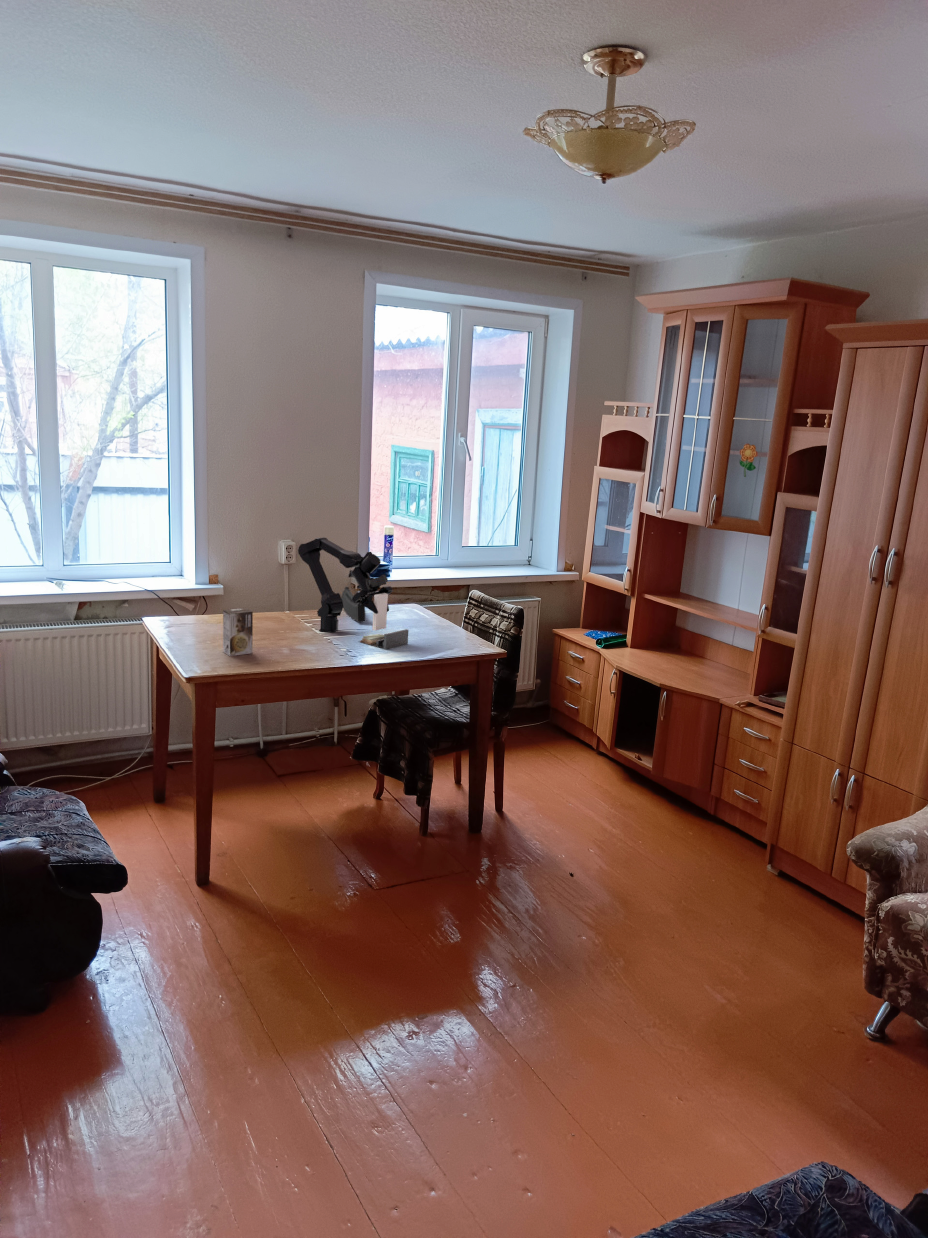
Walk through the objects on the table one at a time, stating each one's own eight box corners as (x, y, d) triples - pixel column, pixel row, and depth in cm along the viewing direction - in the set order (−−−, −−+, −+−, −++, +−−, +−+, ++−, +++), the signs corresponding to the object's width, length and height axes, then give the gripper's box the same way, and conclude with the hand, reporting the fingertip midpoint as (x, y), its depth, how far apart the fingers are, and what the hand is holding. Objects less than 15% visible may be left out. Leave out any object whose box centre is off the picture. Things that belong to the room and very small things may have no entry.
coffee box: (245, 649, 328) (246, 607, 325) (252, 653, 323) (253, 611, 320) (222, 652, 323) (222, 609, 319) (229, 656, 318) (230, 613, 314)
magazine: (367, 605, 376) (351, 573, 400) (360, 605, 375) (344, 573, 399) (362, 639, 384) (346, 605, 408) (355, 639, 383) (339, 605, 407)
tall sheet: (372, 629, 346) (374, 594, 342) (382, 627, 350) (384, 593, 347) (375, 630, 345) (377, 595, 341) (386, 628, 349) (388, 593, 346)
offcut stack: (359, 641, 347) (360, 636, 347) (378, 637, 356) (378, 632, 356) (370, 644, 344) (371, 639, 343) (389, 640, 353) (389, 635, 352)
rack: (357, 644, 347) (358, 627, 345) (379, 639, 357) (380, 622, 356) (385, 652, 338) (386, 634, 337) (407, 646, 349) (408, 629, 347)
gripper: (358, 570, 337) (378, 603, 333) (390, 566, 352) (410, 597, 348) (343, 586, 343) (362, 619, 339) (375, 582, 358) (394, 613, 354)
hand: (382, 612), depth 345 cm, fingers closed on tall sheet, 6 cm apart
